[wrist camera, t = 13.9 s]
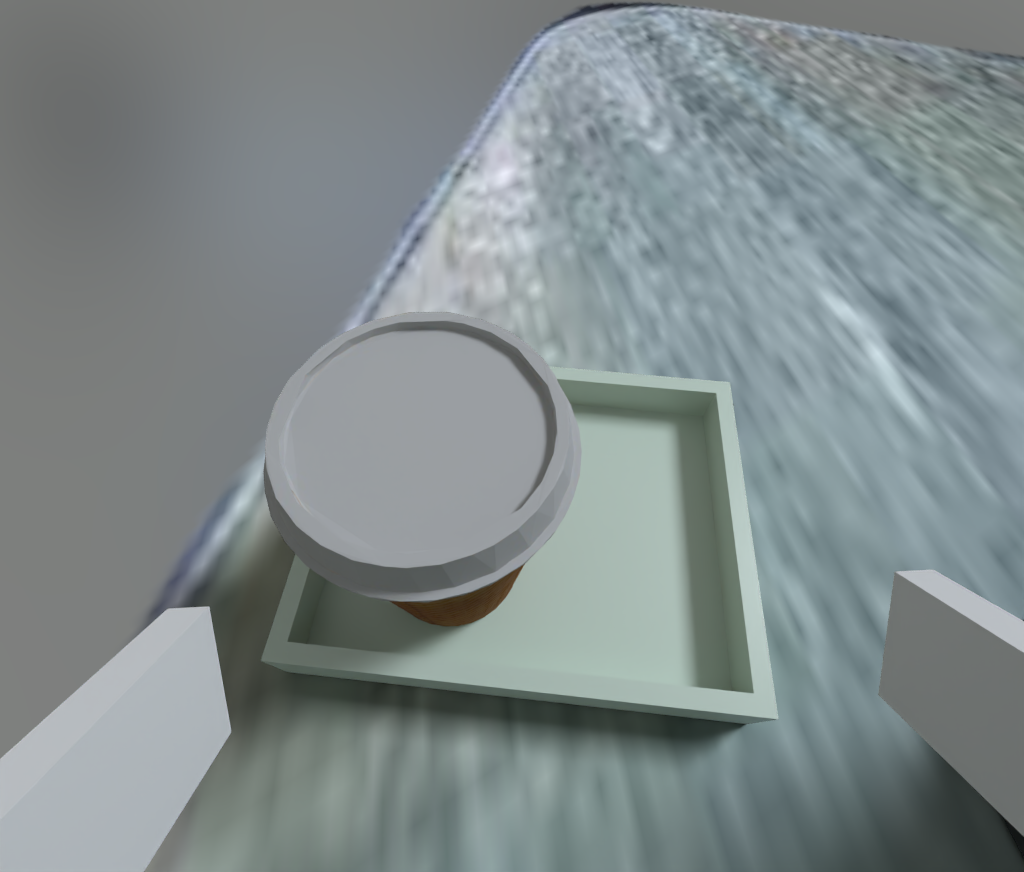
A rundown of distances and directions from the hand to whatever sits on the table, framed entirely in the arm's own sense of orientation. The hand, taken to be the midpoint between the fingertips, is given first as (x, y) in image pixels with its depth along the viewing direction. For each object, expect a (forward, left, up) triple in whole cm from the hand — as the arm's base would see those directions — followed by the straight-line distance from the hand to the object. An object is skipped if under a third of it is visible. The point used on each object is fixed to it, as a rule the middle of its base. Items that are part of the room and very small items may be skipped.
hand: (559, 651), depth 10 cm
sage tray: (+1, -9, -15) cm, 17 cm away
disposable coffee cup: (+4, -6, -14) cm, 16 cm away
